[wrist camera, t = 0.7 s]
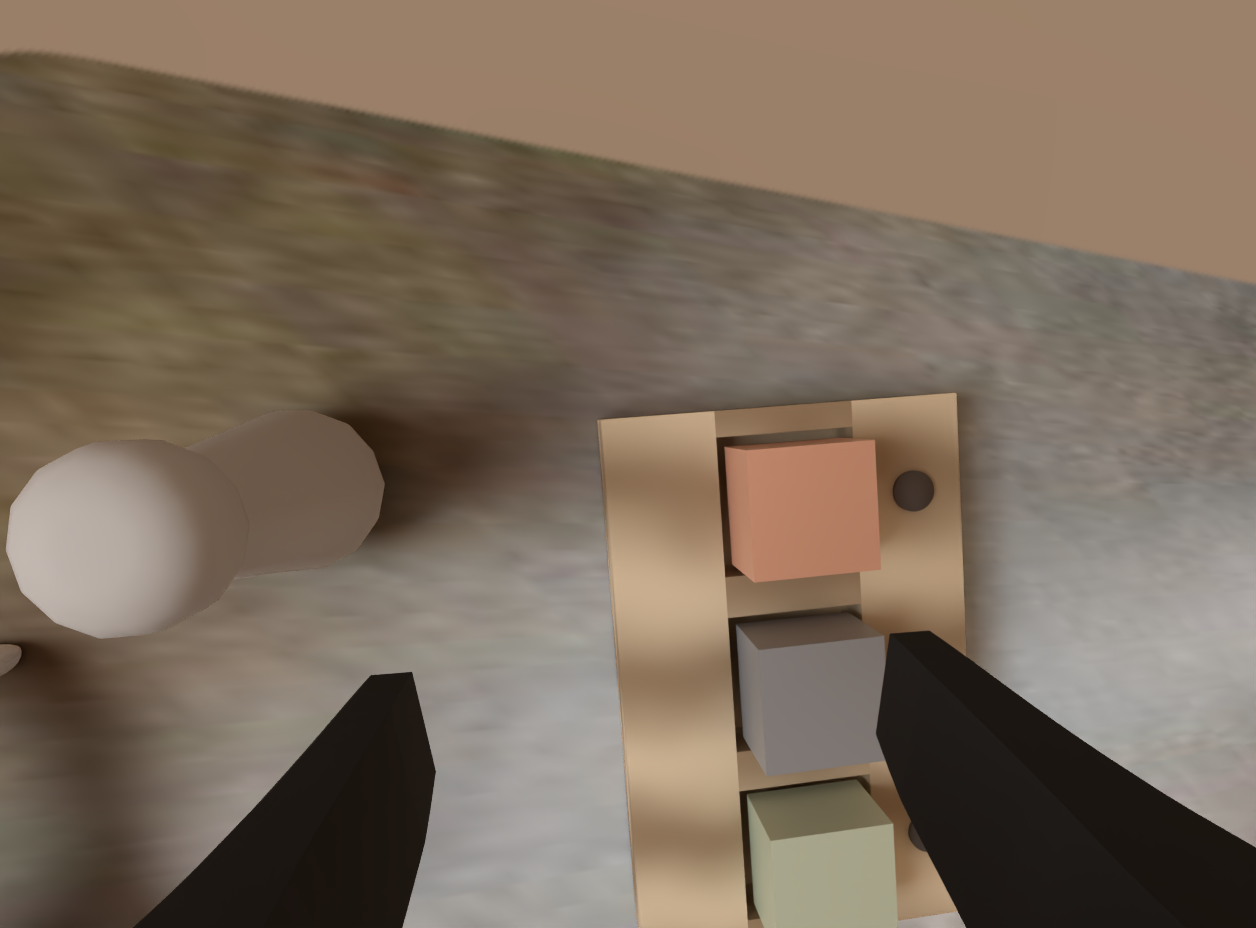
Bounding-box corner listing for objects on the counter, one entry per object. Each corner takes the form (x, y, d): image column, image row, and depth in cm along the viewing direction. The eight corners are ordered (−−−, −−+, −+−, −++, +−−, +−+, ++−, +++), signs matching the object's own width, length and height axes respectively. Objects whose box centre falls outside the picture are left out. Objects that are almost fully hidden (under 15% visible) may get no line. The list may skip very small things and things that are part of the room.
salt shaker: (350, 383, 26) (149, 350, 13) (425, 510, 27) (303, 595, 14) (215, 456, 26) (-127, 494, 13) (294, 582, 26) (44, 739, 14)
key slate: (853, 722, 27) (890, 760, 24) (743, 736, 27) (766, 776, 24) (847, 611, 27) (884, 635, 24) (735, 623, 26) (758, 650, 23)
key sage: (861, 886, 28) (898, 942, 25) (753, 902, 27) (777, 961, 24) (856, 779, 27) (893, 823, 24) (746, 794, 27) (770, 841, 24)
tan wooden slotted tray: (941, 868, 30) (979, 911, 28) (635, 913, 29) (643, 964, 26) (921, 395, 29) (959, 392, 26) (597, 419, 27) (601, 420, 25)
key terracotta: (844, 552, 27) (881, 569, 24) (732, 564, 26) (754, 582, 23) (839, 437, 26) (874, 439, 23) (724, 446, 26) (746, 450, 23)
